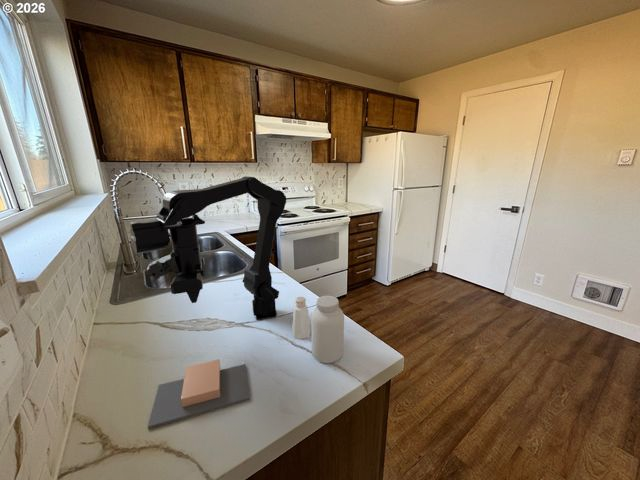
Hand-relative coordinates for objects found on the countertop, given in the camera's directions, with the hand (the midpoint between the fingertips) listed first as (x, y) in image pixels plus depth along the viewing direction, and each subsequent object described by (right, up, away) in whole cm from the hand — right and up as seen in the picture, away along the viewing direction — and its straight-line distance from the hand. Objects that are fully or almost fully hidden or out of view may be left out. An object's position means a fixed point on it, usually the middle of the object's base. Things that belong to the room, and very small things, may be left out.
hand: (194, 302), depth 68 cm
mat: (+8, -16, -12) cm, 22 cm away
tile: (+6, -13, -7) cm, 16 cm away
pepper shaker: (+27, -11, +7) cm, 30 cm away
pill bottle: (+34, -13, -1) cm, 37 cm away
